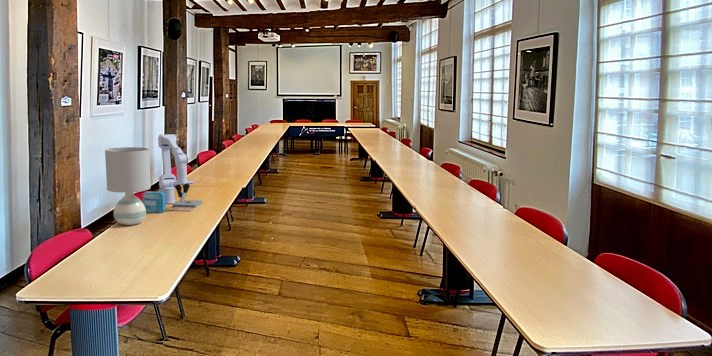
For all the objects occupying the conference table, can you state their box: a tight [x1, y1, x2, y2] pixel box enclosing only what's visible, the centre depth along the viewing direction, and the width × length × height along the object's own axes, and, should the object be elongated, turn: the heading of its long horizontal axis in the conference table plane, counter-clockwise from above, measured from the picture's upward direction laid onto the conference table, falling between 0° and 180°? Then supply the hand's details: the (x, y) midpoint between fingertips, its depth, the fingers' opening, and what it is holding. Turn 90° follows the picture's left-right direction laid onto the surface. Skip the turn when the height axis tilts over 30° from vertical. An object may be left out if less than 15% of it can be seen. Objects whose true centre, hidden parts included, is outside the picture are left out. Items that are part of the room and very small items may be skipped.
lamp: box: [104, 146, 151, 226], centre depth 291 cm, size 22×22×40 cm
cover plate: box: [172, 199, 203, 209], centre depth 341 cm, size 14×14×2 cm
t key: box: [179, 190, 188, 202], centre depth 328 cm, size 7×3×6 cm, turn 43°
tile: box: [170, 207, 196, 212], centre depth 329 cm, size 12×8×1 cm, turn 88°
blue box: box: [142, 190, 167, 214], centre depth 321 cm, size 12×4×12 cm, turn 88°
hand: (182, 196), depth 328 cm, fingers closed on t key, 3 cm apart
